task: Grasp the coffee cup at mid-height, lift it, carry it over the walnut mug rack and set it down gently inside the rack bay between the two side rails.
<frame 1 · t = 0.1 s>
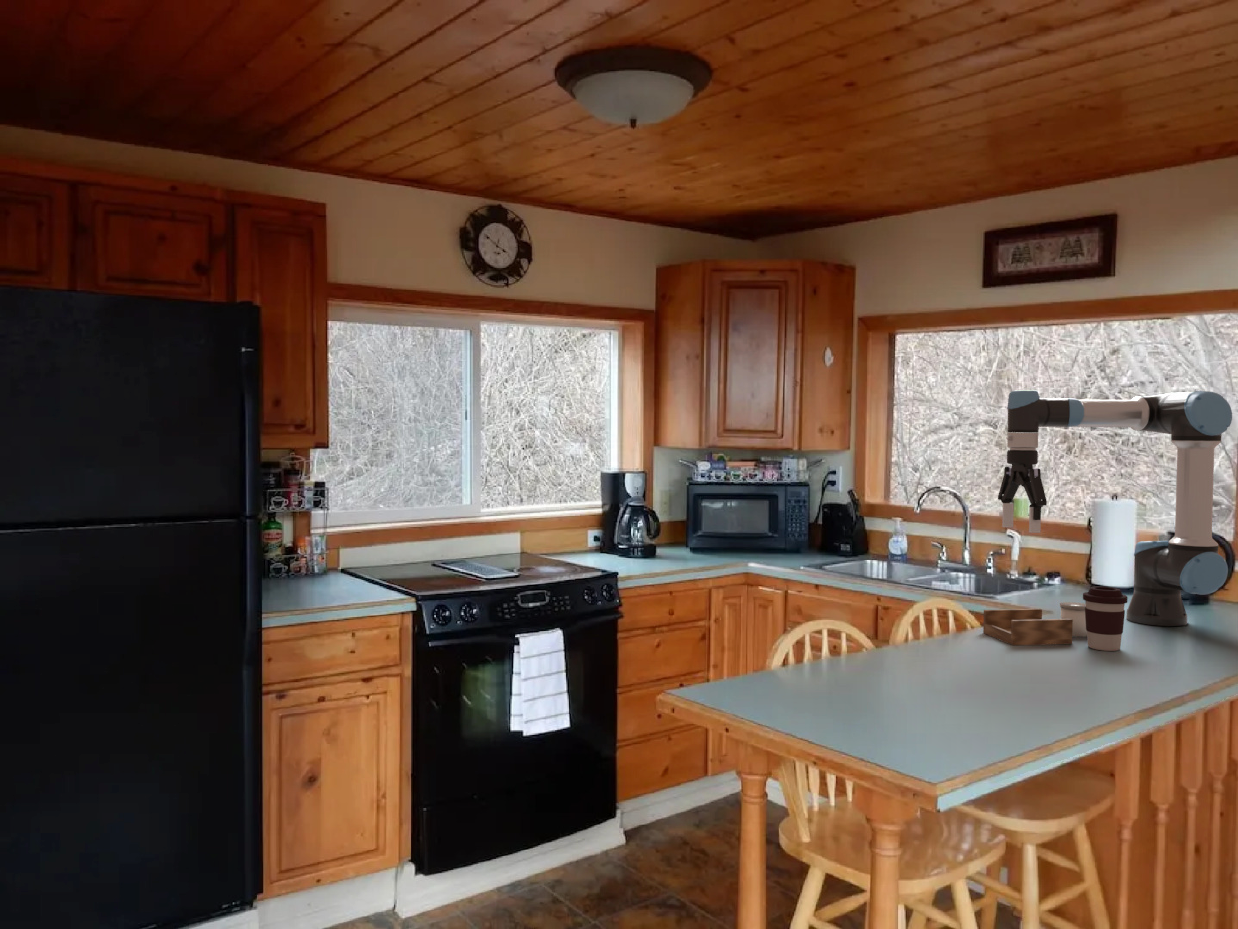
hand: (1020, 530, 256), 28 cm above the counter, fingers open, 13 cm apart
rack: (1026, 638, 253), on the counter
coffee cup: (1103, 649, 242), on the counter
sugar jar: (1074, 633, 259), on the counter
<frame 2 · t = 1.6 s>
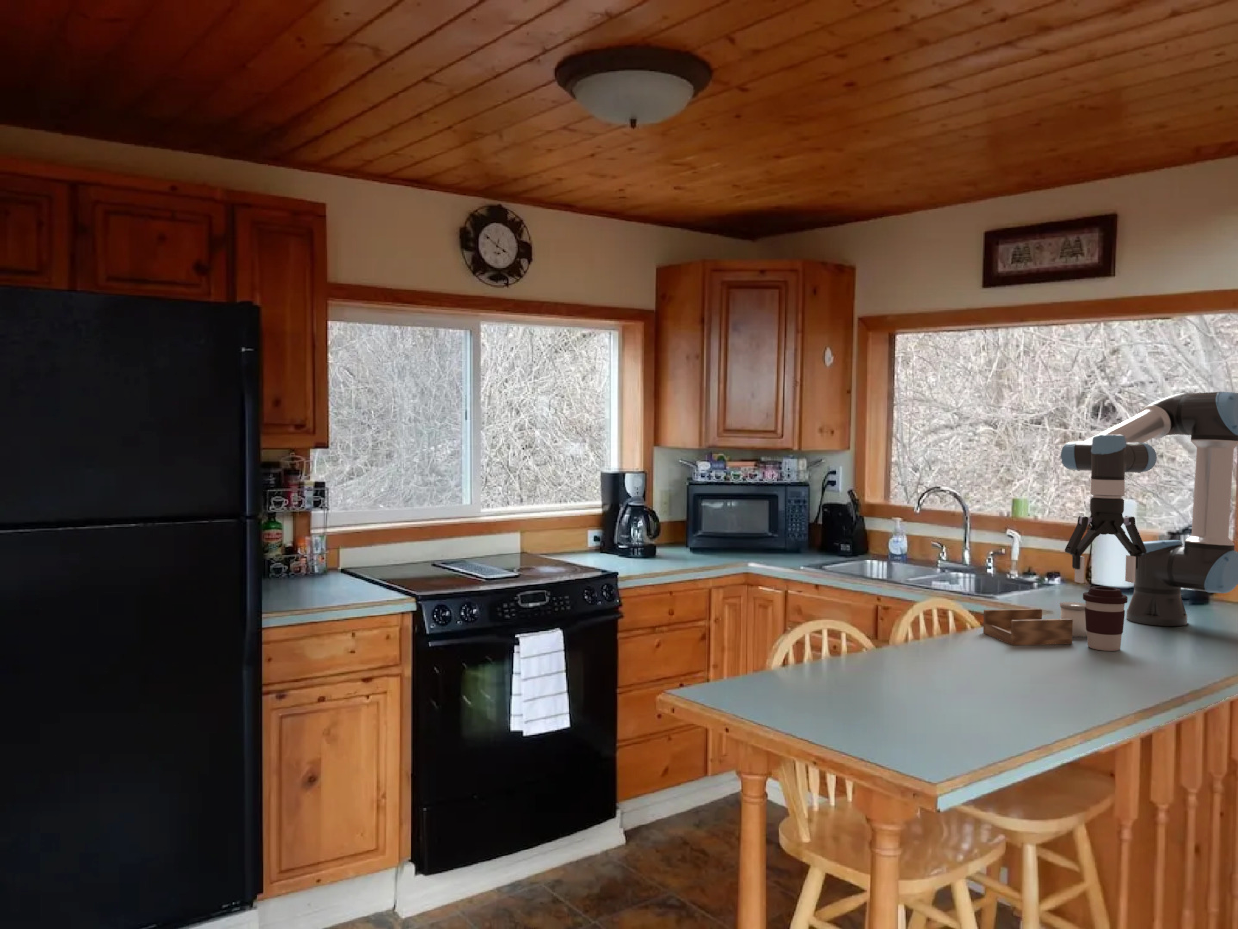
hand: (1104, 582, 241), 17 cm above the counter, fingers open, 13 cm apart
nothing on the counter moved.
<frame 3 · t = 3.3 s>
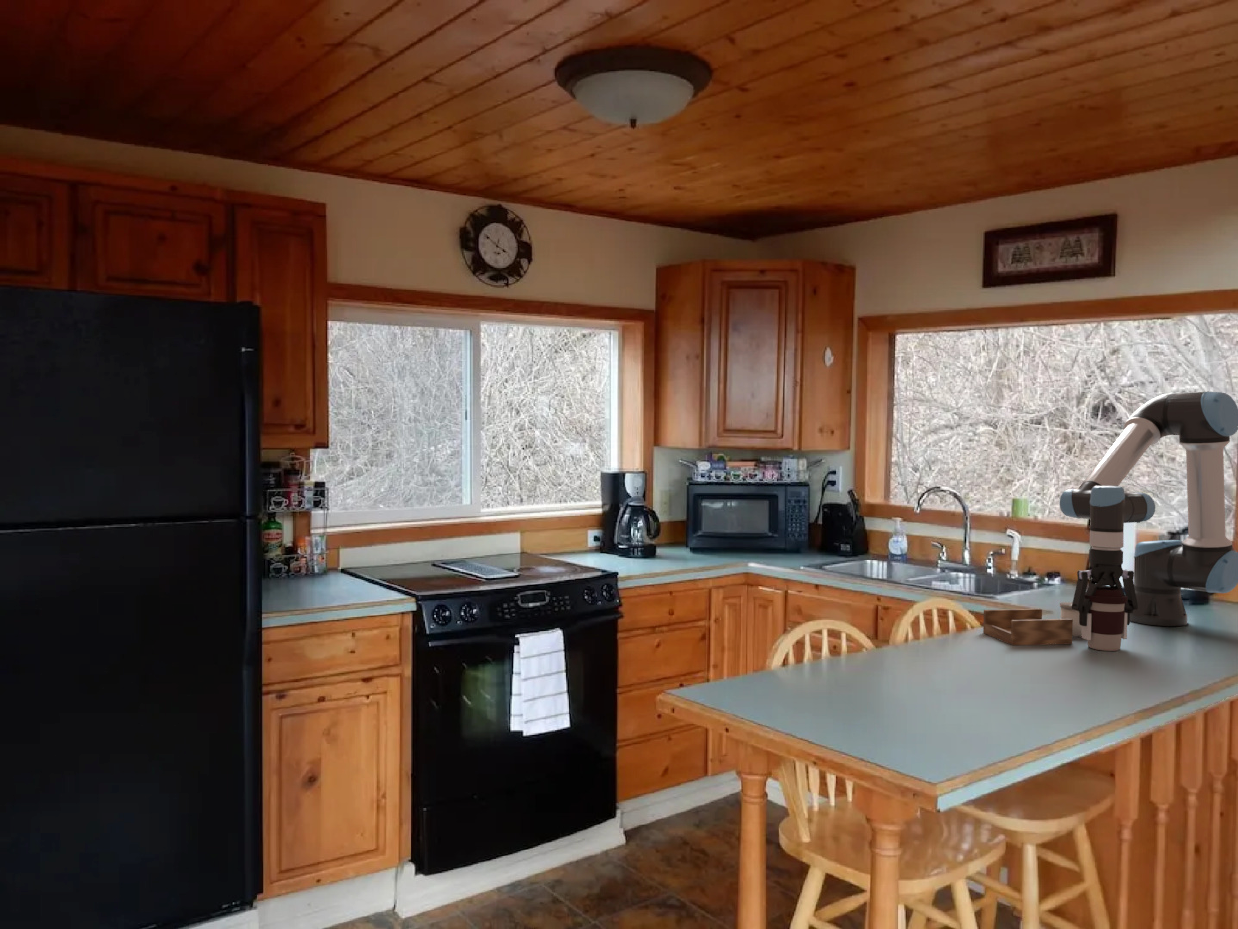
hand: (1104, 638, 242), 2 cm above the counter, fingers closed on coffee cup, 9 cm apart
coffee cup: (1103, 649, 242), on the counter, touching gripper
everything else where it was.
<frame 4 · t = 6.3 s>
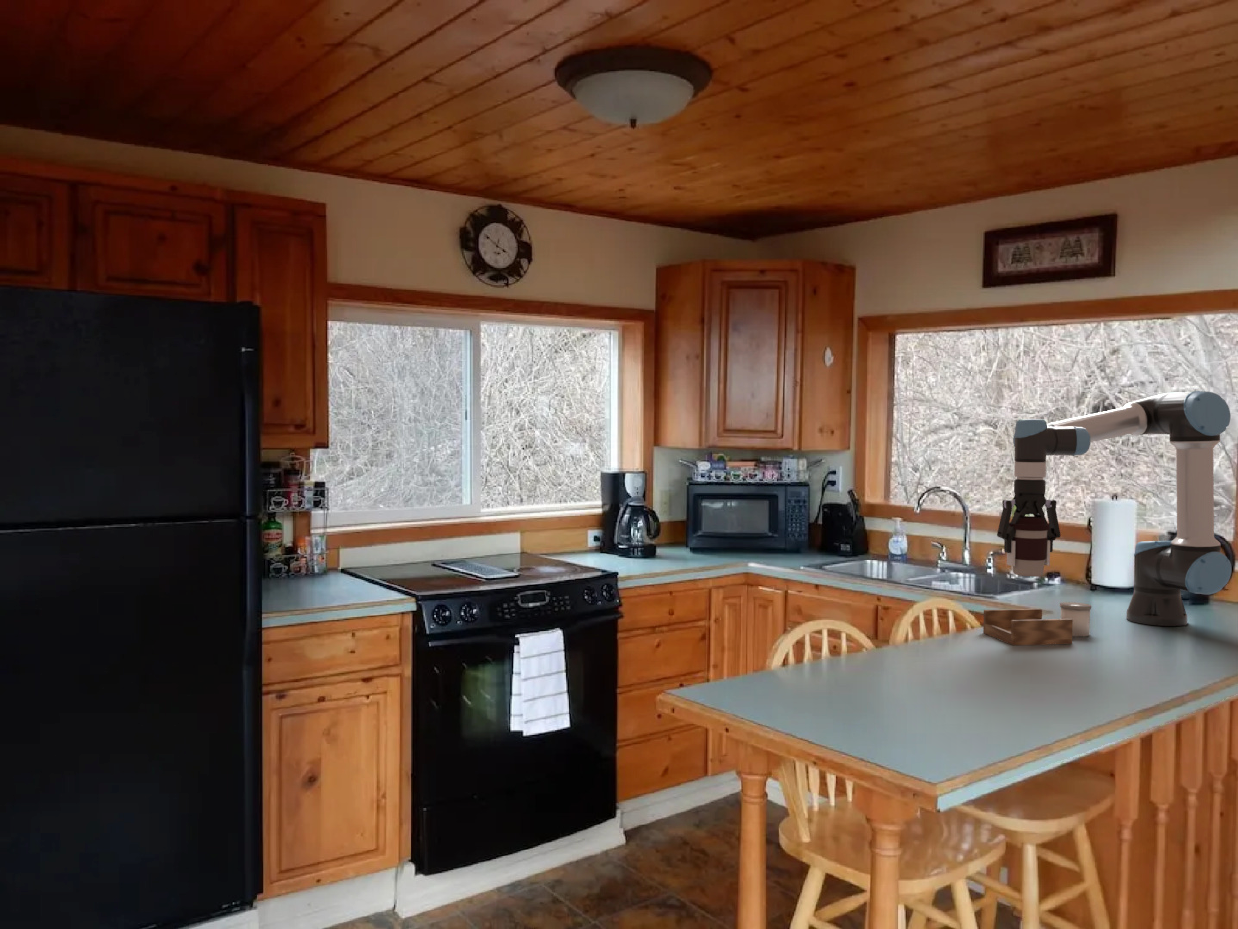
hand: (1028, 565, 252), 19 cm above the counter, fingers closed on coffee cup, 9 cm apart
coffee cup: (1028, 575, 252), point 16 cm above the counter, touching gripper
everything else where it was.
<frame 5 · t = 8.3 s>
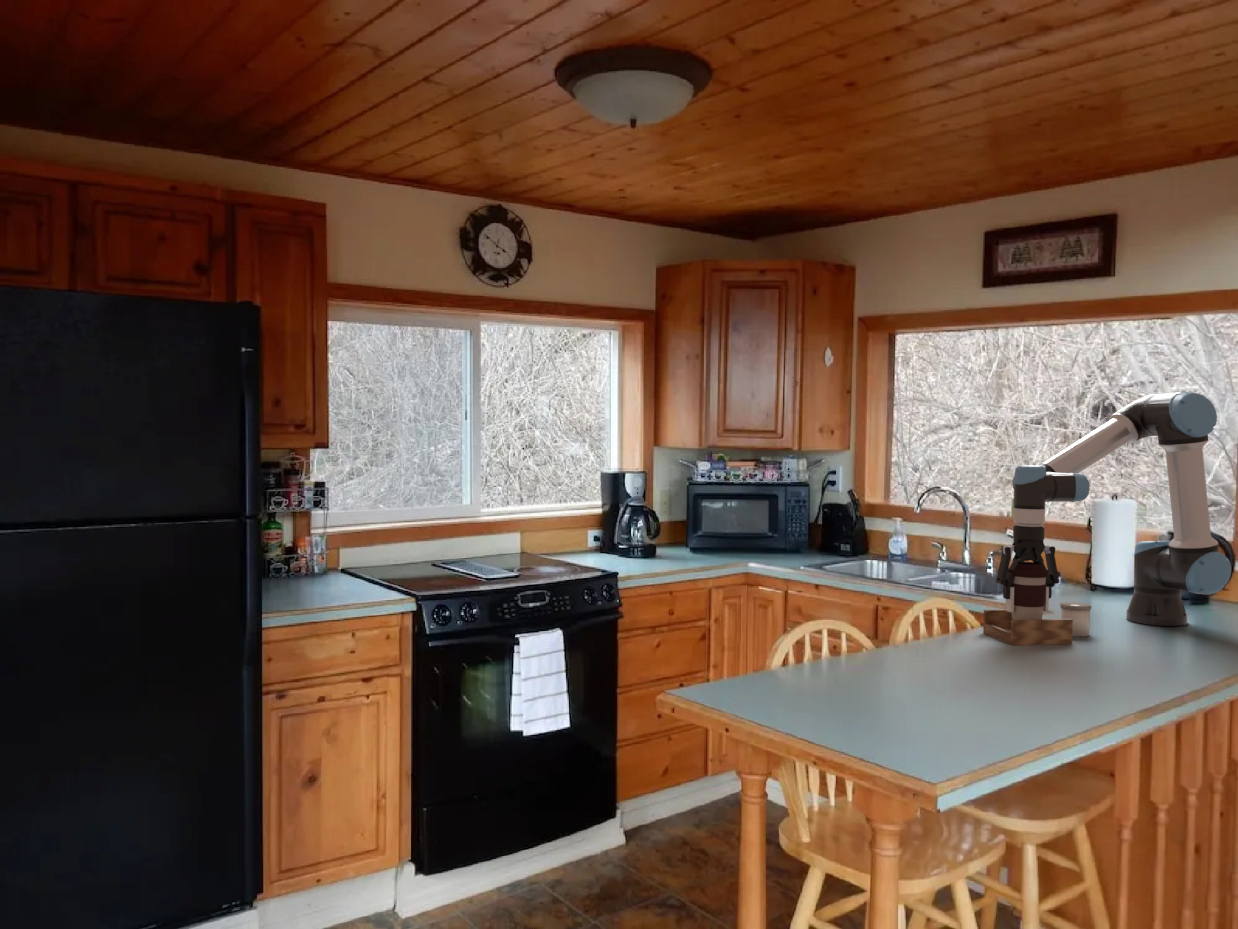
hand: (1026, 611, 253), 7 cm above the counter, fingers closed on coffee cup, 9 cm apart
coffee cup: (1026, 621, 253), point 4 cm above the counter, touching gripper
everything else where it was.
when the fingers open (5 cm above the counter, at t = 9.6 s): coffee cup drops 2 cm, resting on rack.
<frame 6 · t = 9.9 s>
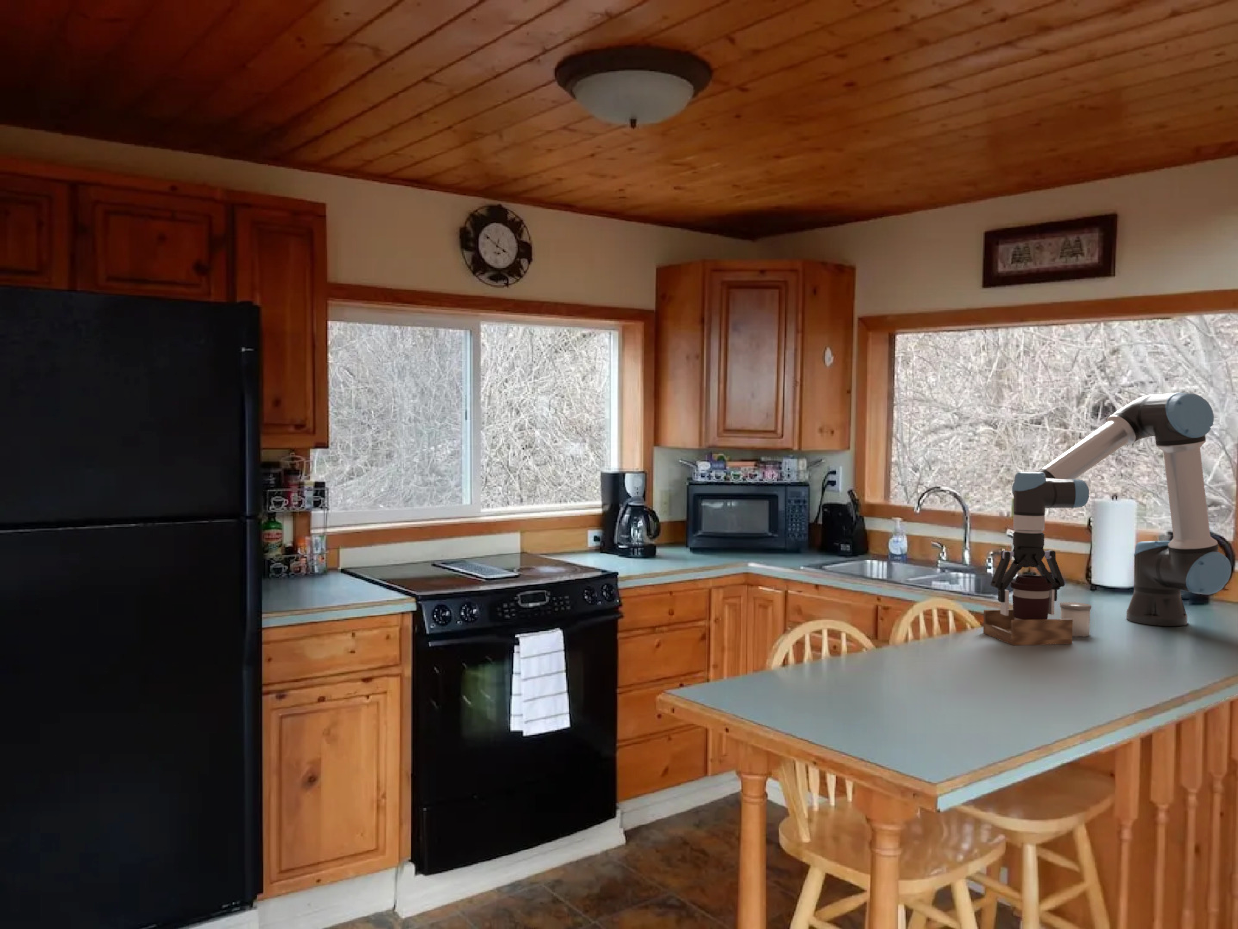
hand: (1027, 614, 253), 6 cm above the counter, fingers open, 12 cm apart
coffee cup: (1030, 634, 253), point 1 cm above the counter, touching rack
everything else where it was.
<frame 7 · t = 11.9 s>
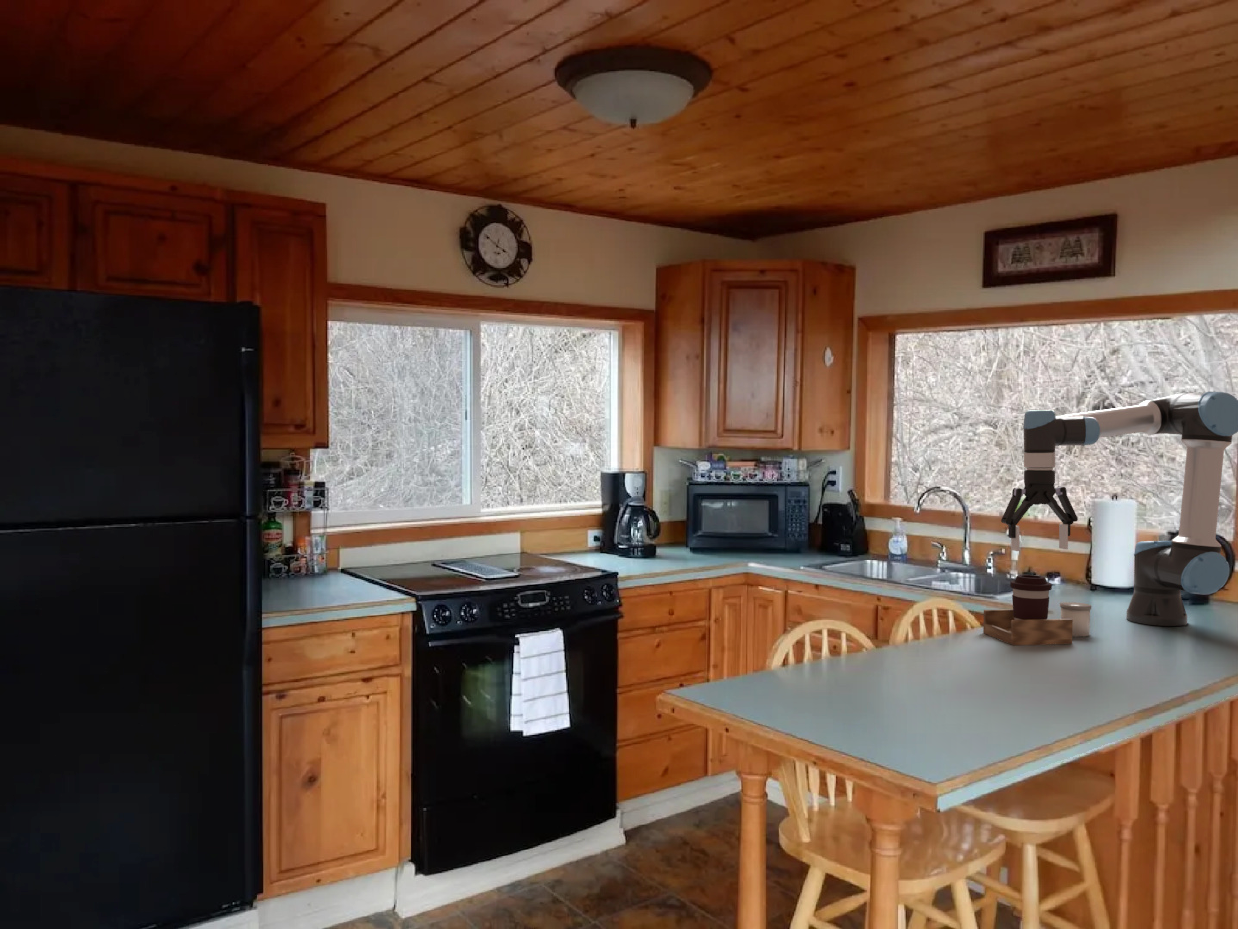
hand: (1039, 549, 255), 23 cm above the counter, fingers open, 13 cm apart
nothing on the counter moved.
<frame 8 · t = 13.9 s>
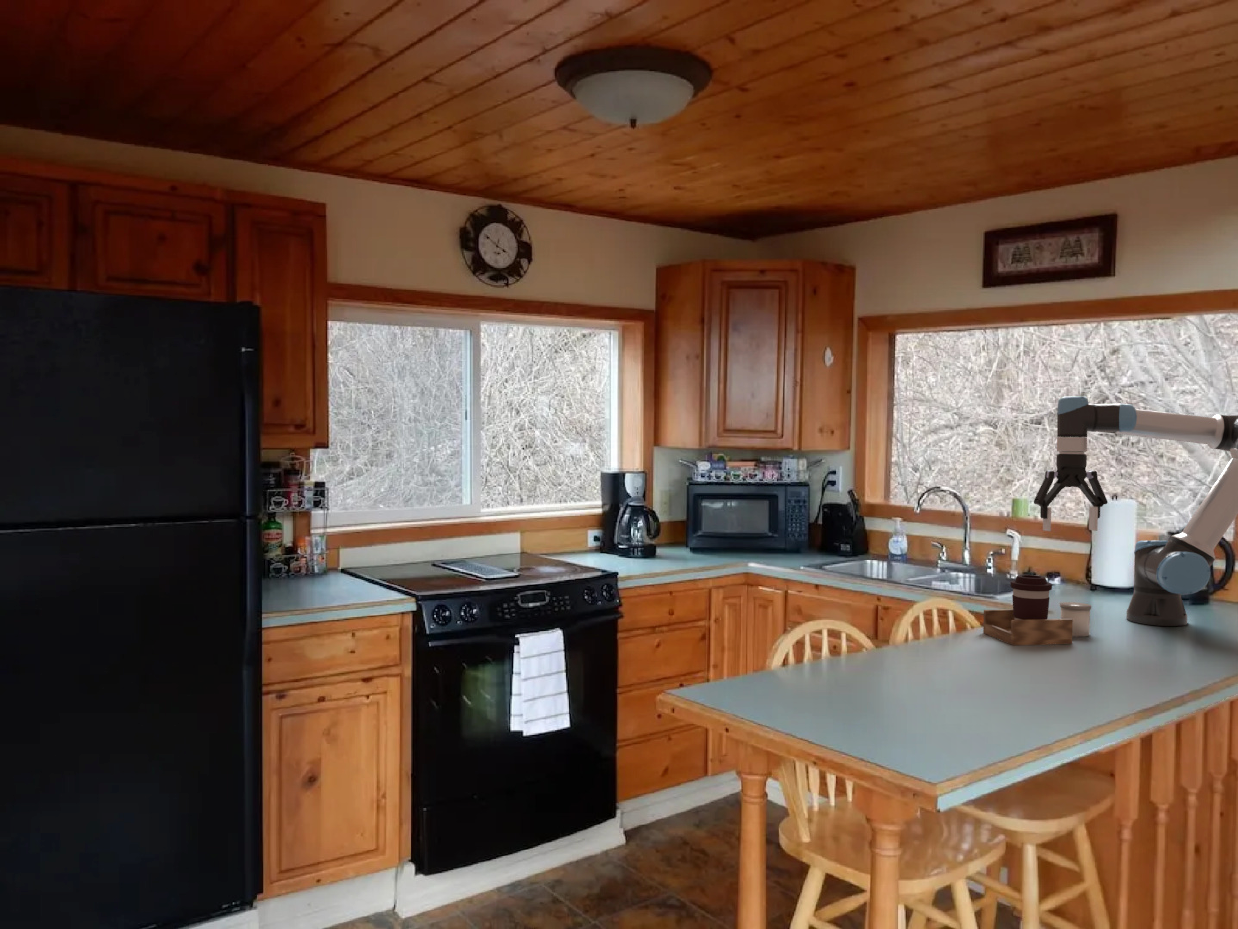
hand: (1069, 530, 266), 27 cm above the counter, fingers open, 13 cm apart
nothing on the counter moved.
at the end: coffee cup inside the target area on the rack (0.9 cm from its centre), point 1.0 cm above the rack's base; coffee cup tilted 0°; the gripper is holding nothing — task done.
